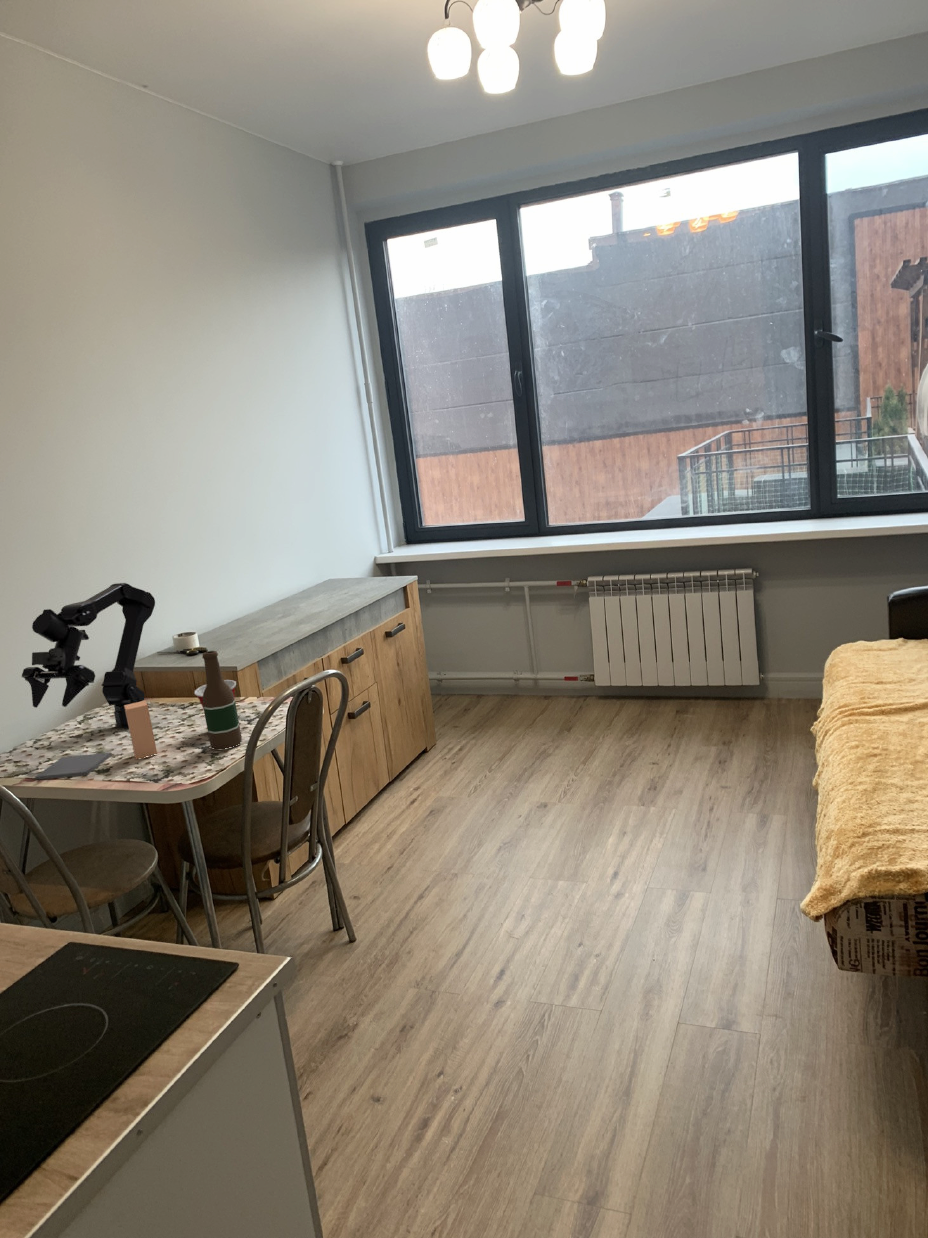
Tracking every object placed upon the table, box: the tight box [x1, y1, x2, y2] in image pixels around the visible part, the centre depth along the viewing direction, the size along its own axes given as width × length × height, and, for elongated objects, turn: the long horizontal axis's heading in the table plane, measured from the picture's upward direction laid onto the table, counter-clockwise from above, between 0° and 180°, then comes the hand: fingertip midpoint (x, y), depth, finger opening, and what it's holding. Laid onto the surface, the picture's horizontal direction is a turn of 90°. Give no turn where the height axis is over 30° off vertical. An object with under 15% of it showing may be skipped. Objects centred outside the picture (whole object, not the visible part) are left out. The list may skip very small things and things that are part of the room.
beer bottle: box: [201, 650, 243, 750], centre depth 229 cm, size 8×8×24 cm
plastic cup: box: [194, 679, 237, 708], centre depth 243 cm, size 11×11×12 cm
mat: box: [34, 752, 112, 781], centre depth 229 cm, size 13×13×1 cm
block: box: [124, 700, 158, 760], centre depth 231 cm, size 5×5×13 cm
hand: (49, 706), depth 233 cm, fingers open, 9 cm apart
